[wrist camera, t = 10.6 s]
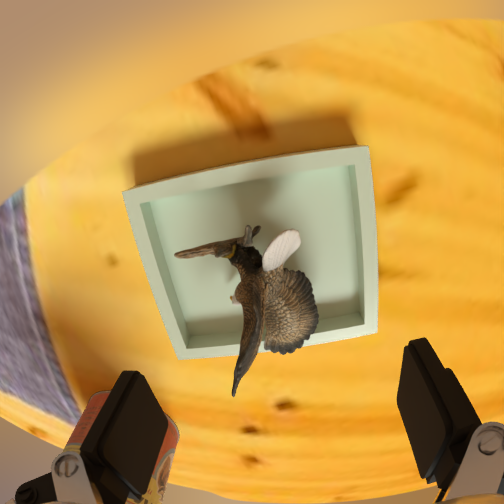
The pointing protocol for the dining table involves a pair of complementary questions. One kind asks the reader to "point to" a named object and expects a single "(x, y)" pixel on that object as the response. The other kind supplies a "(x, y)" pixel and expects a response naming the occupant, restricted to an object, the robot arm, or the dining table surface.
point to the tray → (260, 242)
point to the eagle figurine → (266, 294)
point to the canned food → (158, 482)
